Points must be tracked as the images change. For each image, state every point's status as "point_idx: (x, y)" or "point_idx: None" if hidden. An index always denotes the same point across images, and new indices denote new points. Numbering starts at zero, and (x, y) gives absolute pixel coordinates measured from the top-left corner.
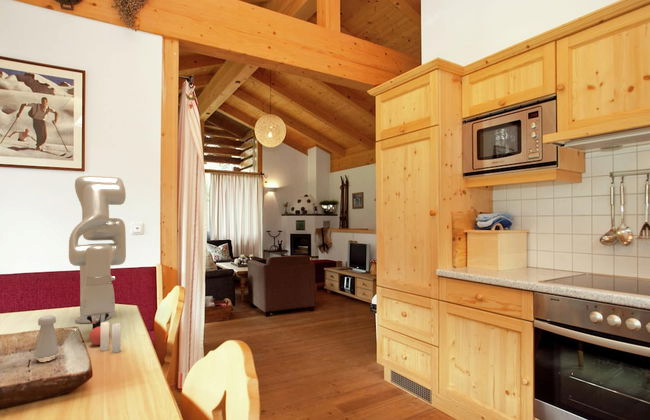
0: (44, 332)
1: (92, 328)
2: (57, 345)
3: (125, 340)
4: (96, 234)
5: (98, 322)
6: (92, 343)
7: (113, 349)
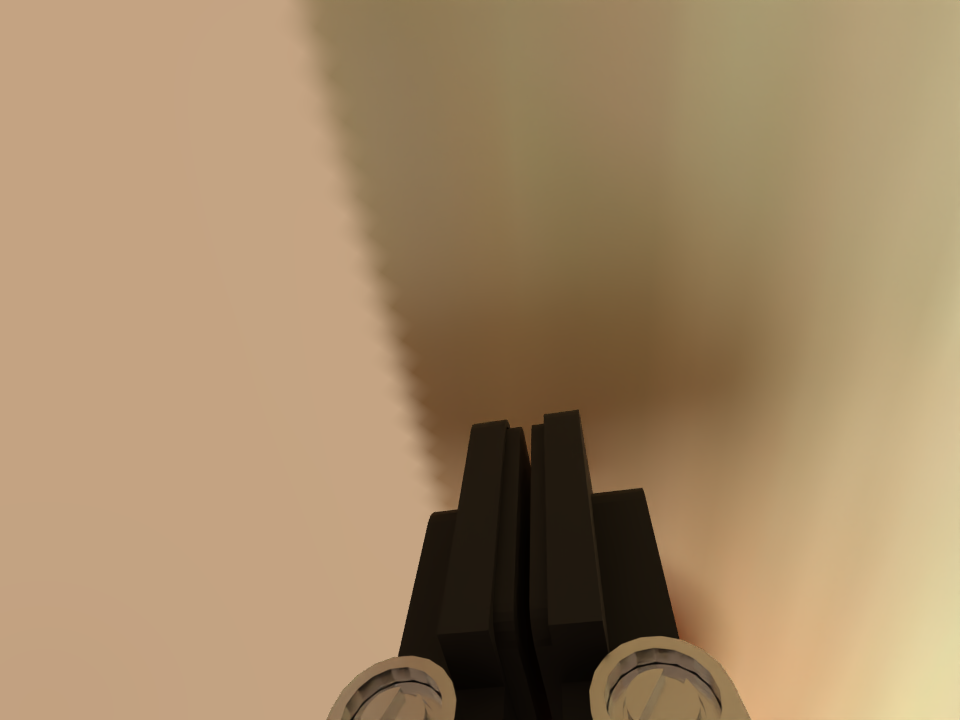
0: None
1: (420, 561)
2: None
3: (927, 649)
4: None
5: (564, 690)
6: None
7: None
